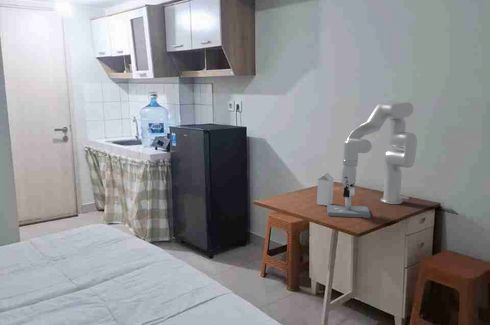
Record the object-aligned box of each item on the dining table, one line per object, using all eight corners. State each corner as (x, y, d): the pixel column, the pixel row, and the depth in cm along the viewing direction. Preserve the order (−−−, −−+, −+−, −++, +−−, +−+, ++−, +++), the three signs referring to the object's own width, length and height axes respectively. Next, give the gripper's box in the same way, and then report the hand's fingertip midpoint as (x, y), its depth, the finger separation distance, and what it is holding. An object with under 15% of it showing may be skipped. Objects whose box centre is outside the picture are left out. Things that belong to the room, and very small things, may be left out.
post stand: (366, 210, 239) (367, 192, 238) (370, 218, 225) (371, 199, 223) (326, 208, 243) (327, 190, 241) (327, 215, 228) (328, 197, 226)
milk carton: (332, 203, 252) (333, 172, 249) (328, 206, 246) (329, 174, 243) (321, 201, 256) (322, 170, 253) (316, 204, 250) (318, 172, 247)
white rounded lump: (351, 193, 236) (351, 185, 235) (356, 195, 230) (356, 187, 229) (341, 193, 234) (341, 185, 233) (346, 196, 229) (346, 188, 228)
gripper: (349, 160, 238) (347, 191, 241) (337, 164, 224) (335, 198, 227) (362, 161, 234) (360, 193, 237) (351, 166, 220) (349, 200, 223)
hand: (348, 195), depth 232 cm, fingers closed on white rounded lump, 6 cm apart
